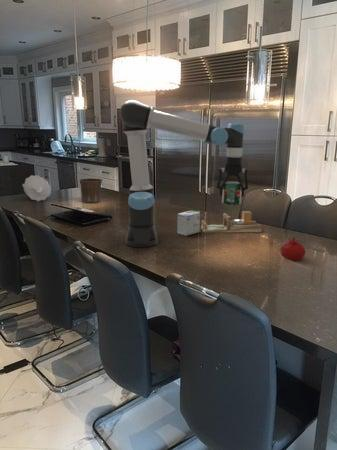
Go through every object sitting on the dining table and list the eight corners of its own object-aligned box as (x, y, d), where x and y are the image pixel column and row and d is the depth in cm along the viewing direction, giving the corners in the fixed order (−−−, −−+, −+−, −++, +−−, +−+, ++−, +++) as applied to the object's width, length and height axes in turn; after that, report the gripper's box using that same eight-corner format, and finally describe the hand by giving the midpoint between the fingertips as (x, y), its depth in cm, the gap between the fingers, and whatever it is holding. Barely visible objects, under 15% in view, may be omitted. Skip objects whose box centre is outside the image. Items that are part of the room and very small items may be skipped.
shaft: (250, 227, 198) (251, 212, 196) (234, 227, 198) (235, 212, 195) (248, 225, 202) (249, 211, 200) (232, 225, 201) (233, 211, 199)
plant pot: (92, 198, 281) (91, 177, 277) (107, 201, 272) (106, 179, 268) (75, 202, 268) (74, 179, 264) (90, 204, 259) (89, 181, 255)
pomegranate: (291, 264, 151) (293, 242, 148) (275, 256, 160) (276, 235, 157) (310, 260, 155) (312, 239, 152) (293, 252, 163) (295, 232, 161)
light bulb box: (190, 229, 199) (191, 210, 197) (200, 232, 195) (200, 212, 192) (176, 233, 192) (177, 213, 189) (186, 236, 188) (186, 215, 185)
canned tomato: (221, 202, 188) (222, 181, 185) (236, 202, 189) (237, 181, 187) (226, 206, 181) (227, 183, 178) (241, 205, 182) (243, 183, 179)
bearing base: (261, 231, 197) (262, 217, 194) (204, 232, 193) (205, 217, 191) (255, 226, 206) (256, 212, 204) (201, 227, 203) (201, 213, 201)
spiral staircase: (41, 201, 291) (47, 205, 269) (18, 193, 282) (22, 196, 260) (49, 179, 291) (56, 182, 269) (27, 170, 282) (32, 172, 260)
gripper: (255, 156, 181) (251, 202, 187) (212, 155, 184) (210, 200, 190) (256, 157, 174) (252, 205, 180) (212, 156, 177) (210, 203, 183)
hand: (231, 202), depth 185 cm, fingers closed on canned tomato, 8 cm apart
